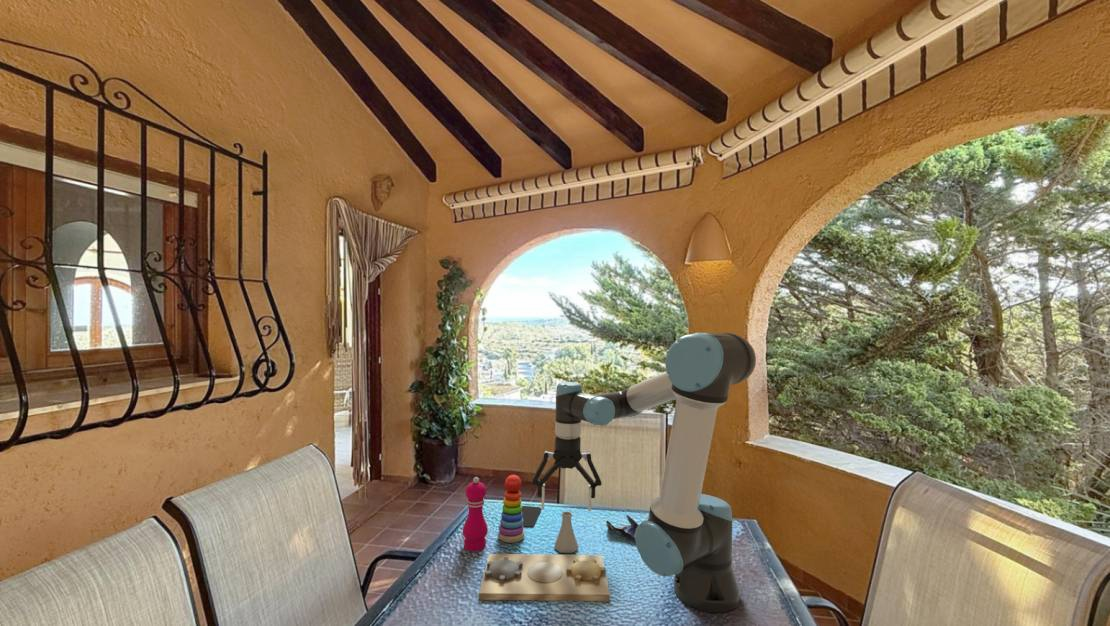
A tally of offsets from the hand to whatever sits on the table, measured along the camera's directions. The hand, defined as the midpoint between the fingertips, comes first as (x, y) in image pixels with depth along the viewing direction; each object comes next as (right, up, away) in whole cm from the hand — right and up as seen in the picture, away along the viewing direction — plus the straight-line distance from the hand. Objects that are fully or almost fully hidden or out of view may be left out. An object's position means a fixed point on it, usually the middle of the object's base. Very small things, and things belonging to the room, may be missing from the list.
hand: (566, 508), depth 133 cm
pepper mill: (-27, -11, 0) cm, 29 cm away
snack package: (+19, -12, +8) cm, 24 cm away
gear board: (-6, -11, -16) cm, 21 cm away
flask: (0, -12, 0) cm, 12 cm away
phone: (-13, -12, +20) cm, 26 cm away
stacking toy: (-17, -11, +5) cm, 21 cm away
